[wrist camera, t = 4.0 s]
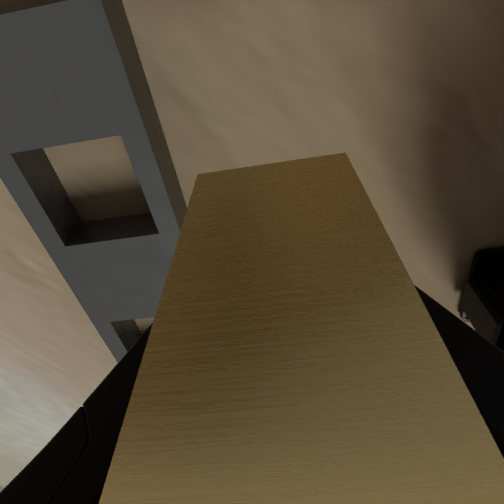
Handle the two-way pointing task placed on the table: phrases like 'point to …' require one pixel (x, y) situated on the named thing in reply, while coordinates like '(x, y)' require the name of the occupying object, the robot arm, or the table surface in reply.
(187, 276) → the brass peg
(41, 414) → the table surface
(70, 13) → the rail
